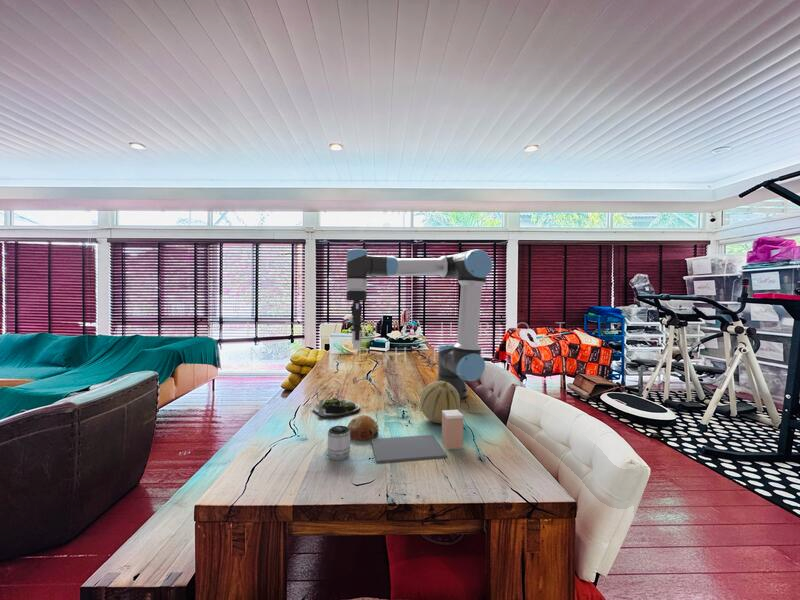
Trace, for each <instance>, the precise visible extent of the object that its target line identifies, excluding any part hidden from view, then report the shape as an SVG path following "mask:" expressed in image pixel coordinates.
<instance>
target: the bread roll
mask: <svg viewBox="0 0 800 600" xmlns="http://www.w3.org/2000/svg"><path fill="white" fill-rule="evenodd" d="M347 427H348V428H349V429H350V440H354V441H358V442H366V441H367V442H368V441H371V439H376V438H377V437H378V434H379V431H380V430H379V426H378V424H377V422H376V420H375V419H374V418H373V417H371V416H369V415H365V414H362V415H358V416H355V417H354V418H352V419H351V420H350V422H349V423H348V424H347Z"/></svg>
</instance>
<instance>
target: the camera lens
mask: <svg viewBox="0 0 800 600" xmlns="http://www.w3.org/2000/svg"><path fill="white" fill-rule="evenodd" d="M350 451H351V438H350V429H349V428H348V426H344V425H336V426H331V427H330V428H329V429H328V431H327V454H328V458H329V459H330V460H332V461H333V460H334V461H343V460H346V459H347V458H348V457H349V456H350Z"/></svg>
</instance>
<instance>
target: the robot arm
mask: <svg viewBox="0 0 800 600" xmlns="http://www.w3.org/2000/svg"><path fill="white" fill-rule="evenodd" d="M492 269H493V261H492V258H491V256H490V255H489V254H488V253H487V252H486V251H484V250H482V249H477V248H476V249H470V250H467V251H463V252H458V253H455V254H451V255H450V254H449V255H441V256H440V257H437V258H436V257H431V258H429V257H428V258H426V257H425V258H424V257H423V258H420V257H419V258H397V257H396V256H393V255H391V256H390V255H371V254H370V255H369V254H368V251H367V250H366V249H364V248H351V249H348V250H347V252H346V280H345V281H344V284H345V285H346V289H347V291H346V301H348V302H349V301H350V302H352V305H350V306H351V307H350V308H351V309H350V310H351V316H352V322H351V325H352V328H351V332H352V333H351V334H352V337H351V338H352V339H351V342H352V350H361V349H362V343H361V342H362V337H361V336H362V319H361V318H362V310H363V305H362V304H361V302H364V301H365V302H366V301H367V298H368V297H367V294H368V293H367V291H366V290H367V288H368V286H367V285H368V283H367V282H368V279H367V276H368V277H371V278H377V277H379V278H380V277H413V276H416V277H417V276H421V277H422V276H440V277H441V278H453V279H457V283H459V285H460V297H459V310H458V321H457V322H458V324H457V334H456V335H457V338H456V339H457V340H456V342H455V343H454V344H440V345H439V347H438V351H437V357H438V359H437V363H438V364H437V365H438V367H437V372H438V373H437V379H436V381H445V382H448V383H450V384H451V385H452V386H453V387H454V388H455V389H456V390H457V392H458V393H459V396H460V398H462V399H464V398H463V397H465V396H467V397H468V388H467V385H466V382H472V381H476V380H478V379H479V378H480V377H481V376H482V375H483V374H484V372H485V369H486V362H485V359H484V358H483V356H481V355H482V347H481V346H480V345H479V330H480V316H481V315H480V314H481V302H482V301H481V300H482V288H483V286H484V285H486V284H487V276H489V274H490V273H491V272H492ZM465 381H466V382H465ZM465 398H466V397H465Z"/></svg>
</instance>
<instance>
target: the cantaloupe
mask: <svg viewBox="0 0 800 600" xmlns="http://www.w3.org/2000/svg"><path fill="white" fill-rule="evenodd" d="M419 405H420V410H421V413H422V414H423V416H425V417H426V418H427V420H429V421H431V422H432V423H436V424H442V410H458V411H459V412H460V407H461V399H460V396H459V393H458V392H457V390H456V389H455V388H454V387H453V386H452V385H451V384H450V383H448V382H445V381H437V380H435V381H431V382H429V383H428V384H427V385H426V386H424V388H423V390H422V391H421V393H420V398H419Z"/></svg>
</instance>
